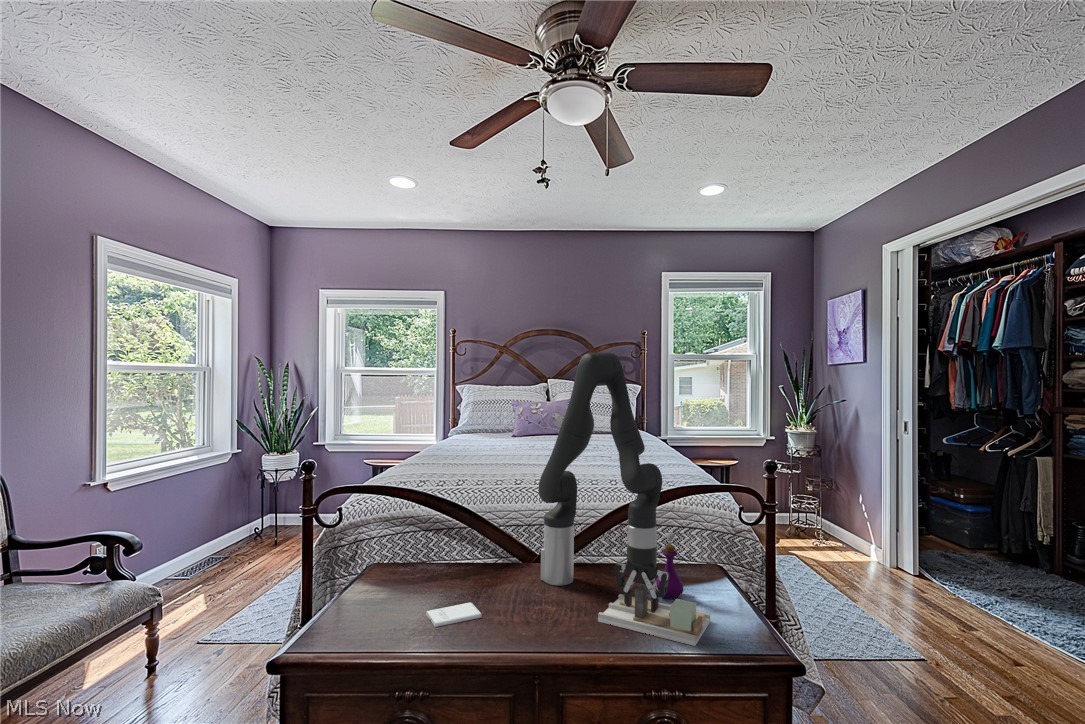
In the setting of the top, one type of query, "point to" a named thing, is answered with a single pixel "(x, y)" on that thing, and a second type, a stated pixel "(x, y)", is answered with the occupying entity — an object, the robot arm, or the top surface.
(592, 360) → the robot arm
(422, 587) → the top surface
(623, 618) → the lane board
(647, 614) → the tan slider with post
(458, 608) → the external hard drive
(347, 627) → the top surface
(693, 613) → the block
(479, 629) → the top surface
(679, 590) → the perfume bottle
